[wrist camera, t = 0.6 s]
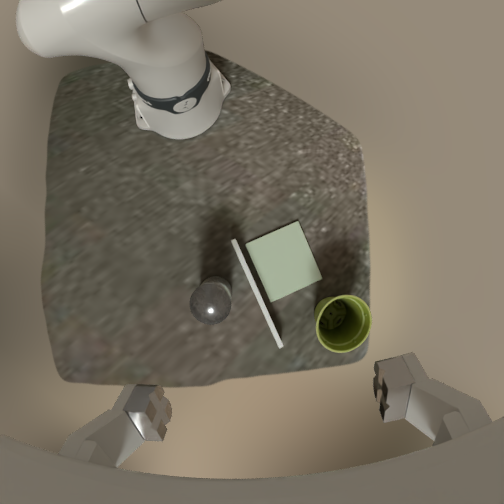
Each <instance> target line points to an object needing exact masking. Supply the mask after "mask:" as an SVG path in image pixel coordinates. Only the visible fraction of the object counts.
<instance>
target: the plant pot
mask: <svg viewBox="0 0 504 504" xmlns="http://www.w3.org/2000/svg"><path fill="white" fill-rule="evenodd" d="M336 301H338V302H339V303H340V304H341V306H340V305H339V304H338V303H336ZM330 312H331V313H332V315H330ZM314 317H315V321H316V333H317V337H318V339H319V341H320V342H321V344H322V345H323V346H324V347H325V348H327V349H328V350H330V351H333V352H338V353H343V352H348V351H351V350H354V349H355V348H357V347H358V346H360V345H361V344H362V343H363V342H364V341H365V339H366V338H367V336H368V334H369V332H370V329H371V324H372V316H371V312H370V309H369V307H368V306H367V304H366V303H365V302H364V301H363V300H362V299H360V298H359V297H356V296H353V295H340V296H337V297H327V298H324V299H323V300H321V301H320V302H319V303H318V304H317V306H316V308H315V312H314ZM340 318H341V321H340V322H339V323H338V324H337V323H336V322H338V321H339V319H340ZM320 321H321V322H322V323H324V324H325V325H322V324H321V323H320Z"/></svg>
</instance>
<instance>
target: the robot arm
mask: <svg viewBox="0 0 504 504" xmlns="http://www.w3.org/2000/svg"><path fill="white" fill-rule="evenodd" d="M219 1H222V0H20V1H19V4H18V7H17V12H16V27H17V32H18V35H19V37H20V39H21V41H22V42H23V43H24V45H25V46H26V47H27V48H28V49H29V50H31V51H32V52H33V53H35V54H38V55H39V56H42V57H46V58H52V57H58V56H67V55H81V56H90V57H95V58H100V59H103V60H107V61H110V62H112V63H115V64H117V65H119V66H120V67H122V68H123V69H124V70H125V72H126V73H127V74H128V75H129V76H130V78H129V79H128V85H129V87H130V89H133V94H132V98H133V100H134V106H135V115H136V123H137V126H138V127H139V128H140V129H143V130H153V131H155V132H157V133H159V134H161V135H162V136H165V137H168V138H172V139H186V138H191V137H194V136H197V135H199V134H201V133H203V132H204V131H206V130H207V129H208V128H209V127H210V126H212V124H213V123H214V122H215V121H216V119H217V118H218V116H219V114H220V111H221V107H222V103H223V100H224V99H225V97H226V96H227V95H228V94H229V92H230V90H231V85H230V83H229V82H228V81H227V80H226V78H225V77H224V76H223V75H222V74H221V72H220V71H219V70H218V69H217V68H216V67H215V66H214V64H213V63H212V62H211V61H210V60H209V58H208V55H207V53H206V51H205V50H204V44H203V38H202V32H201V29H200V28H199V26H198V24H197V23H196V22H195V21H194V20H193V19H192V18H191V17H189V16H188V15H186V14H184V13H183V11H187V10H190V9H194V8H199V7H203V6H207V5H211V4H214V3H216V2H219ZM222 82H223V84H222ZM141 117H142V119H141ZM374 371H375V374H376V376H375V377H374V379H373V387H374V394H375V398H376V401H377V402H378V403H380V408H379V411H380V414H381V417H382V419H383V422H389V421H394V420H398V419H402V418H405V419H406V420H407V421H409V422H410V423H411V424H413V425H414V426H415V427H417V428H418V429H419V430H420V431H422V432H423V433H424V434H426V435H427V436H428V437H430V438H431V439H432V440H434V443H433V445H432V447H429V448H426V449H423V450H420V451H416V452H413V453H410V454H406V455H403V456H399V457H396V458H392V459H388V460H384V461H380V462H376V463H372V464H367V465H362V466H357V467H352V468H347V469H341V470H336V471H330V472H323V473H315V474H307V475H299V476H289V477H277V478H276V477H275V478H257V479H210V478H209V479H208V478H189V477H177V476H167V475H157V474H150V473H143V472H136V471H130V470H124V469H119V468H117V467H118V466H119V465H120V464H121V463H122V462H123V461H124V460H125V459H127V457H129V456H130V455H131V454H132V453H133V452H134V451H135V450H136V449H137V448H138V447H139V446H140V445H141V444H142V443H143V442H144V440H147V441H163V440H164V437H165V434H166V431H167V428H166V426H165V425H166V424H167V423H168V422H169V421H170V419H171V416H172V408H171V404H170V402H169V400H168V399H167V398H165V397H164V396H163V395H164V390H163V388H162V386H160V385H144V384H127V385H125V386H124V388H123V390H122V392H121V393H120V395H119V397H118V399H117V401H116V402H115V404H114V406H113V408H112V410H107V411H106V412H104V413H103V414H101V415H100V416H98V417H97V418H95V419H94V420H92V421H90V422H89V423H87V424H86V425H84V426H83V427H81V428H80V429H78V430H76V431H75V432H73V433H72V434H70V435H69V436H68V438H67V440H66V441H65V443H64V445H63V446H62V448H61V450H60V452H59V453H58V454H57V453H54V452H50V451H47V450H44V449H41V448H38V447H35V446H32V445H30V444H27V443H24V442H21V441H19V440H16V439H14V438H12V437H9V436H7V435H0V504H504V417H502V418H500V419H498V420H496V421H494V422H492V421H491V419H490V417H489V415H488V414H487V412H486V410H485V408H484V407H483V406H482V404H481V402H480V401H479V400H477V399H475V398H473V397H471V396H469V395H467V394H464V393H462V392H460V391H458V390H456V389H454V388H452V387H450V386H448V385H446V384H444V383H441V382H439V381H437V380H435V379H433V378H432V379H429V378H428V376H427V374H426V373H425V371H424V369H423V367H422V365H421V364H420V362H419V360H418V359H417V357H416V355H415V354H414V353H412V352H411V353H408V354H404V355H401V356H397V357H393V358H389V359H384V360H380V361H376V362H375V364H374Z"/></svg>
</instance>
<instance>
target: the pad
mask: <svg viewBox="0 0 504 504" xmlns="http://www.w3.org/2000/svg"><path fill="white" fill-rule="evenodd" d="M245 245H246V248H247V250H248V252H249V254H250V257H251V259H252V261H253V263H254V266H255V268H256V270H257V272H258V275H259V277H260V279H261V281H262V284H263V286H264V288H265V291H266V293H267V295H268V297H269V300H270V302H273V301H275V300H277V299H280V298H282V297H284V296H286V295H288V294H291V293H293V292H295V291H297V290H299V289H301V288H304V287H306V286H308V285H310V284H312V283H314V282H316V281H318V280H321V279H322V276H321V274H320V272H319V269H318V267H317V264H316V262H315V259H314V257H313V255H312V252H311V250H310V248H309V245H308V243H307V240H306V238H305V236H304V233H303V231H302V229H301V227H300V224H299V222H298V221H297V222H295V223H292V224H290V225H288V226H285V227H283V228H281V229H279V230H276V231H274V232H272V233H270V234H267V235H265V236H263V237H260V238H258V239H256V240H254V241H251V242H249V243H247V244H245Z"/></svg>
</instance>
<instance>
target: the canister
mask: <svg viewBox="0 0 504 504" xmlns="http://www.w3.org/2000/svg"><path fill="white" fill-rule="evenodd" d="M231 296H232V289H231V286H230V284H229V282H228V281H227V280H226V279H224V278H222V277H219V276H212V277H209V278H207V279H206V280H205V281H204V282H203V283H202V284H201V285H200V286H199V287H198V288H197V289H196V290H195V291H194V292H193V294H192V296H191V298H190V309H191V312H192V314H193V316H194V317H195V318H196V319H197V320H198V321H200V322H202V323H204V324H209V325H213V324H217V323H220V322H222V321H223V320H224V319H226V317H227V316H228V315H229V312H230V309H231Z"/></svg>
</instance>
